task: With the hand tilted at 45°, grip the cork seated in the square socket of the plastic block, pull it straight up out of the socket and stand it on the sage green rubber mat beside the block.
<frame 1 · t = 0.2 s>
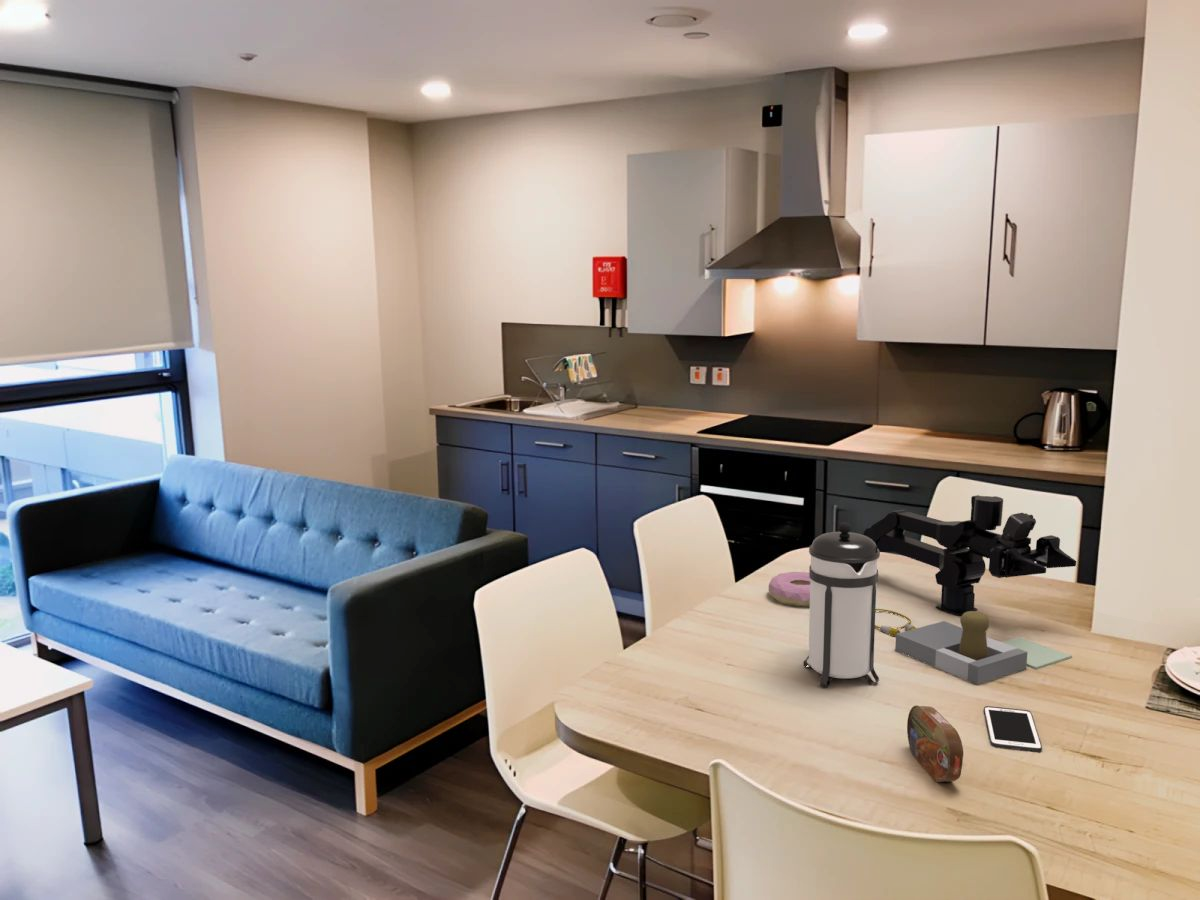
hand: (1060, 567, 196), 17 cm above the table, tool horizontal, fingers open, 9 cm apart
coffee press: (835, 673, 187), on the table
mat: (1027, 653, 195), on the table
tin: (933, 768, 151), on the table
donut: (800, 599, 230), on the table
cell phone: (1011, 732, 163), on the table
socket block: (972, 667, 188), on the table
gold chain necklace: (886, 626, 213), on the table
cork: (972, 668, 188), resting in socket block
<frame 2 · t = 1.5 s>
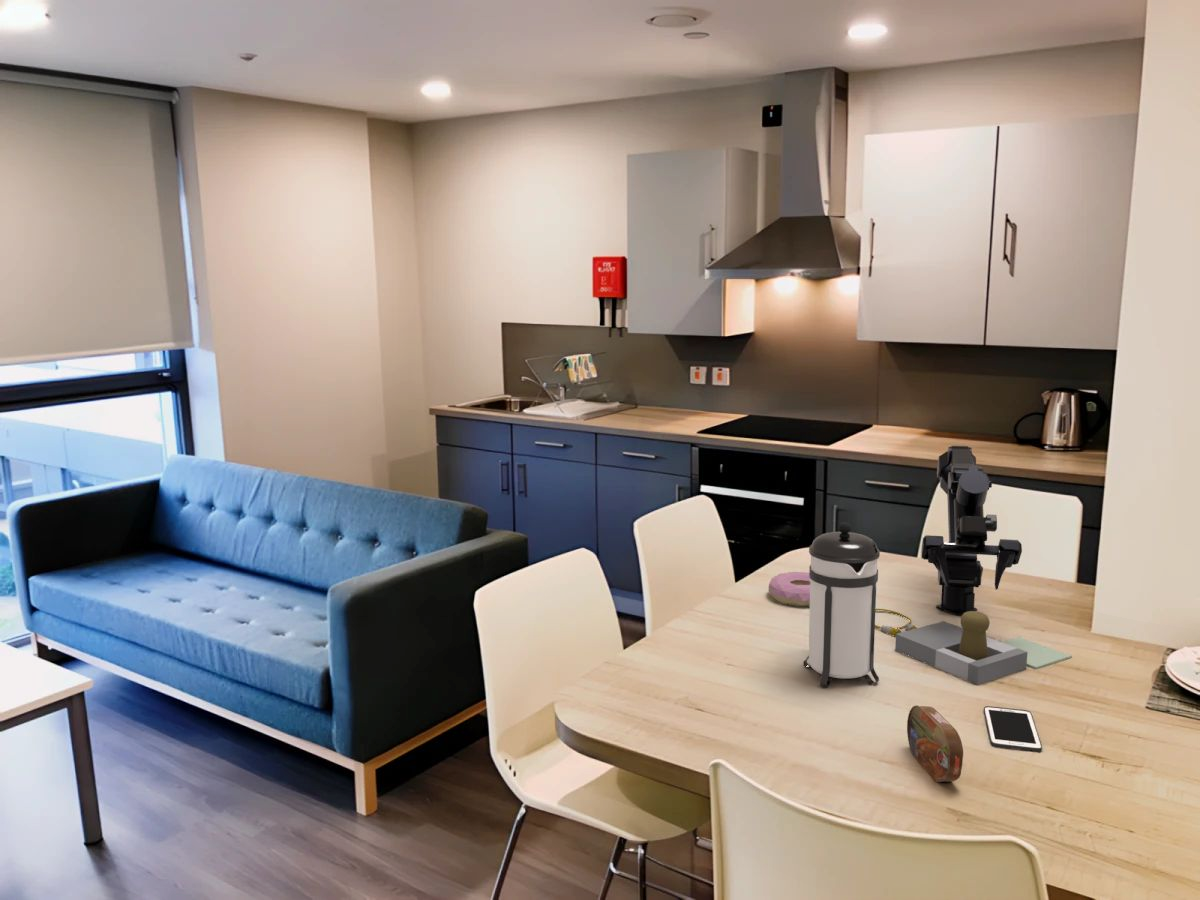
hand: (972, 587, 194), 14 cm above the table, tool tilted 45°, fingers open, 9 cm apart
nothing on the table moved.
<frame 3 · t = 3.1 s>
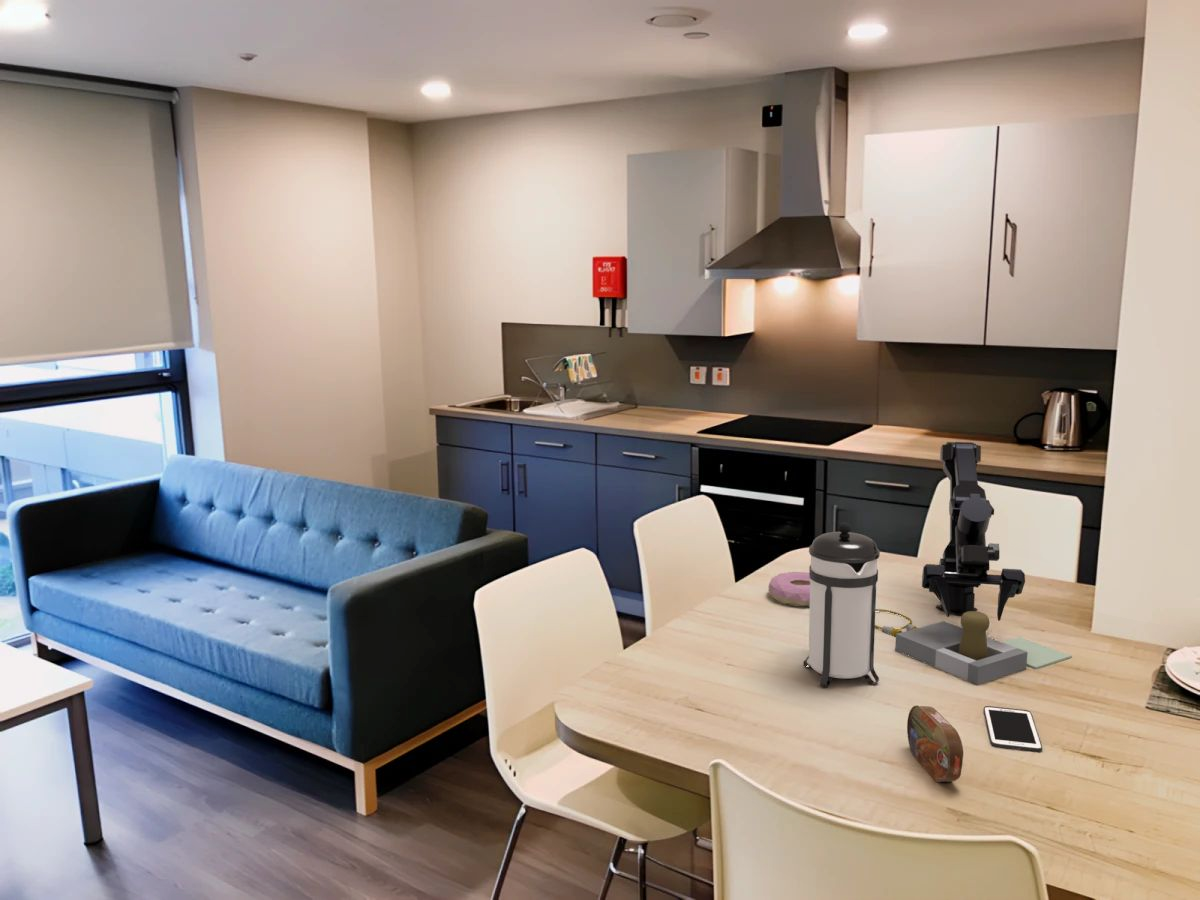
hand: (973, 617, 188), 9 cm above the table, tool tilted 45°, fingers open, 9 cm apart
nothing on the table moved.
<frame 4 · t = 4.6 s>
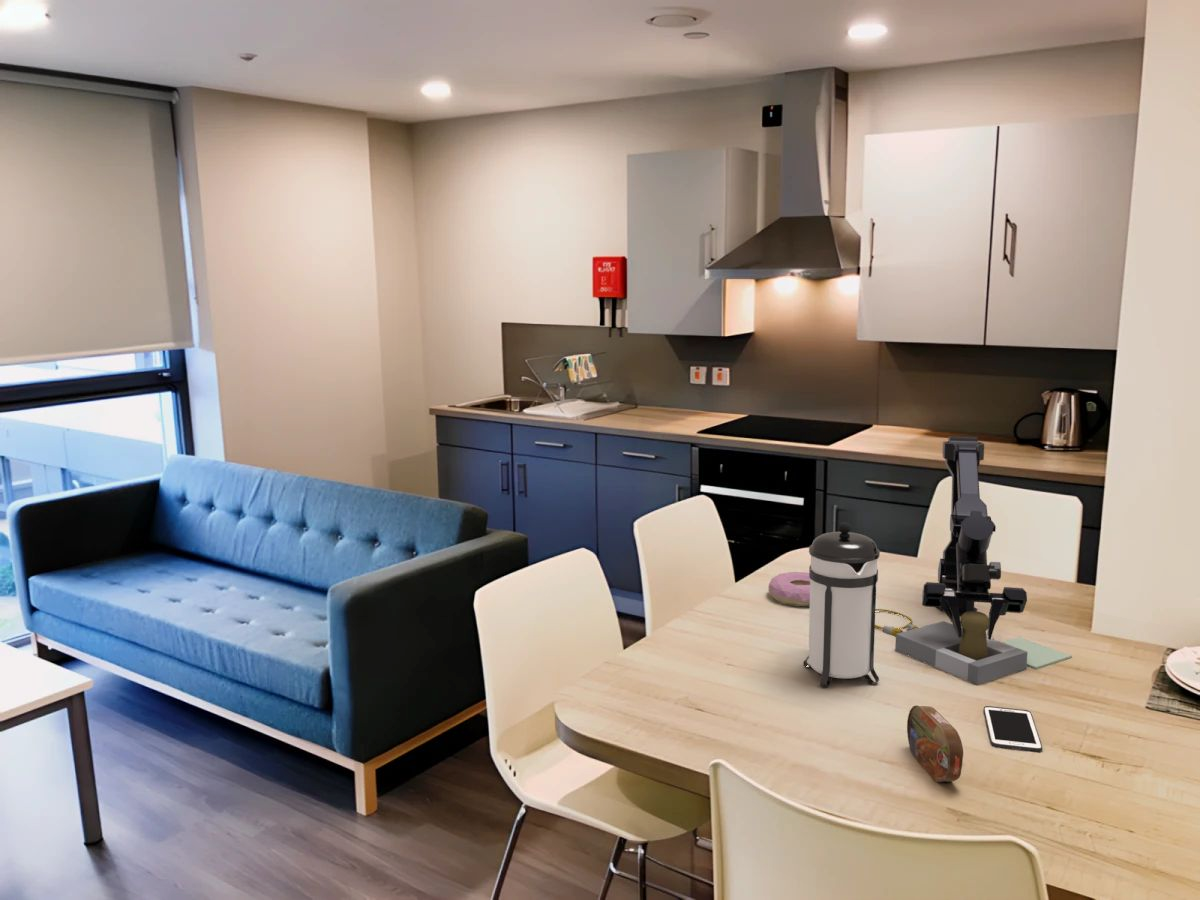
hand: (974, 637, 186), 7 cm above the table, tool tilted 45°, fingers closed on cork, 5 cm apart
cork: (972, 668, 188), resting in socket block, touching gripper
everything else where it was.
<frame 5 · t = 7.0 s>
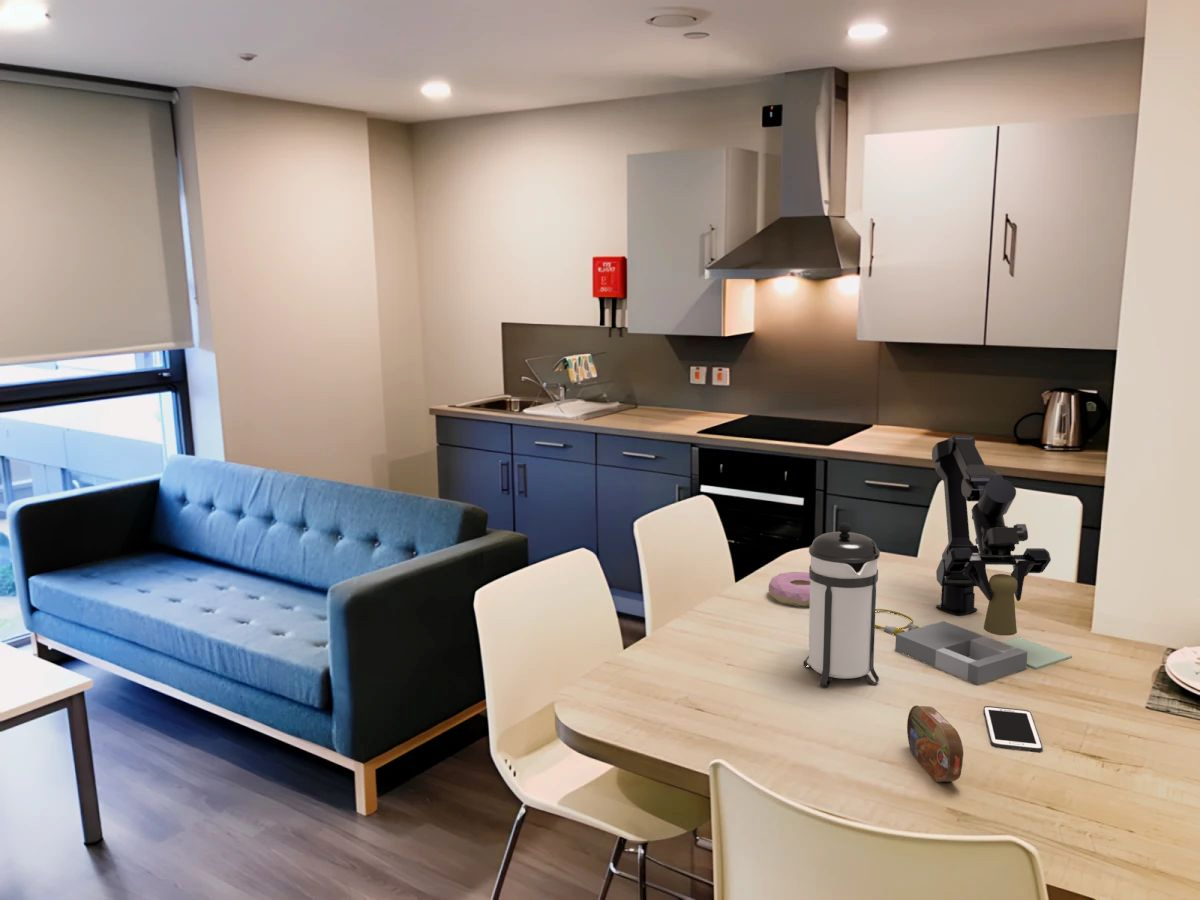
hand: (1004, 600, 187), 13 cm above the table, tool tilted 45°, fingers closed on cork, 5 cm apart
cork: (999, 630, 189), point 6 cm above the table, touching gripper
everything else where it was.
when the fingers open (8 cm above the table, at t = 9.5 s): cork stays where it is, resting on mat.
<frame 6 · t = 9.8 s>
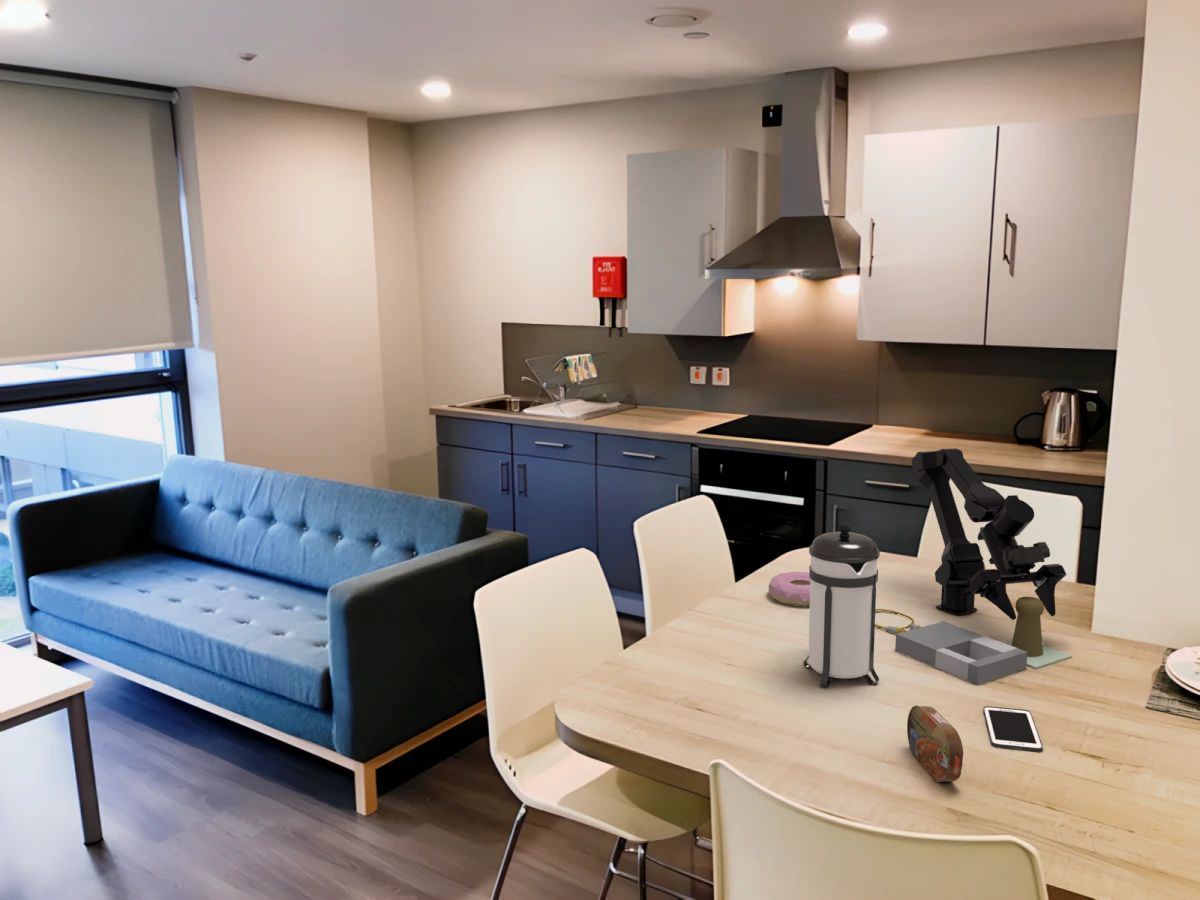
hand: (1034, 617, 192), 8 cm above the table, tool tilted 45°, fingers open, 8 cm apart
cork: (1026, 652, 195), resting on mat
everything else where it was.
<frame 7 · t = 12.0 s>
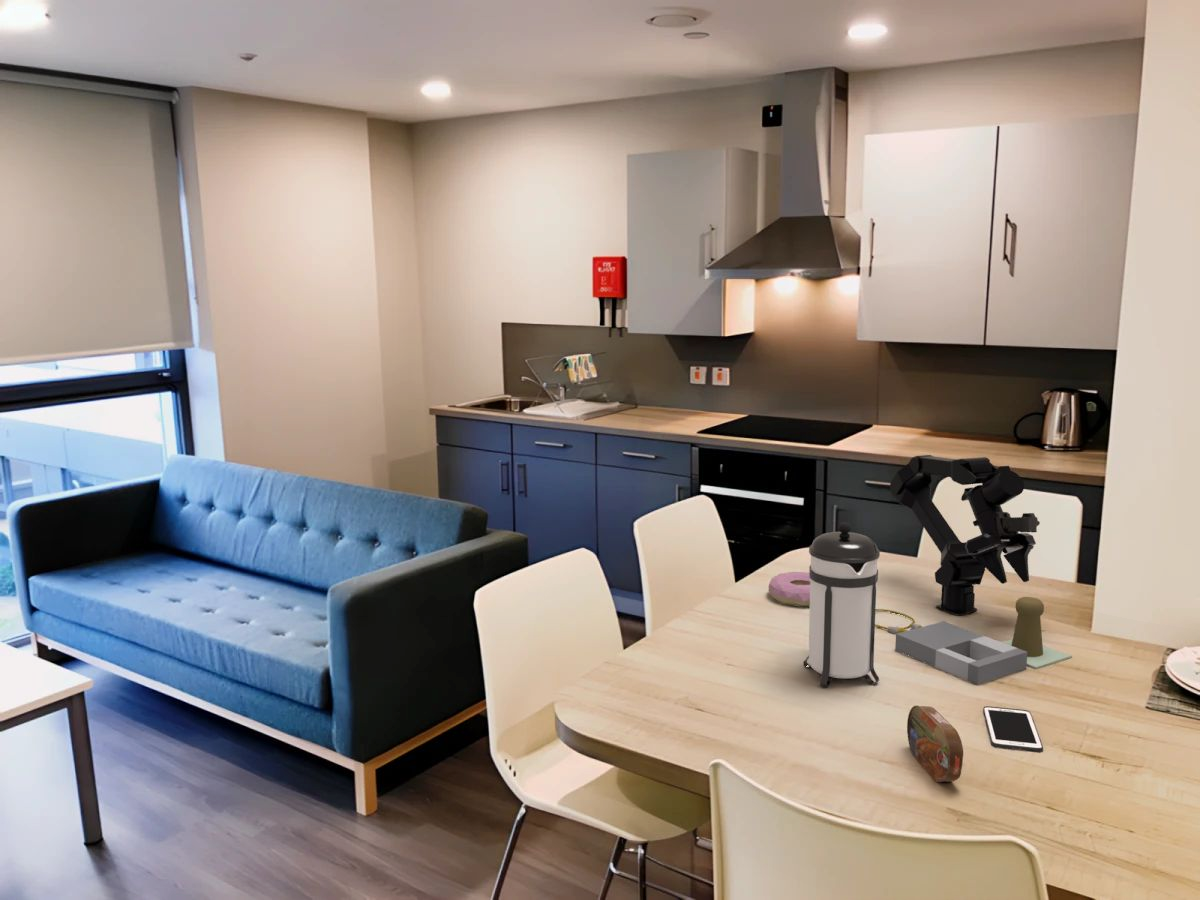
hand: (1015, 582, 203), 12 cm above the table, tool tilted 35°, fingers open, 9 cm apart
nothing on the table moved.
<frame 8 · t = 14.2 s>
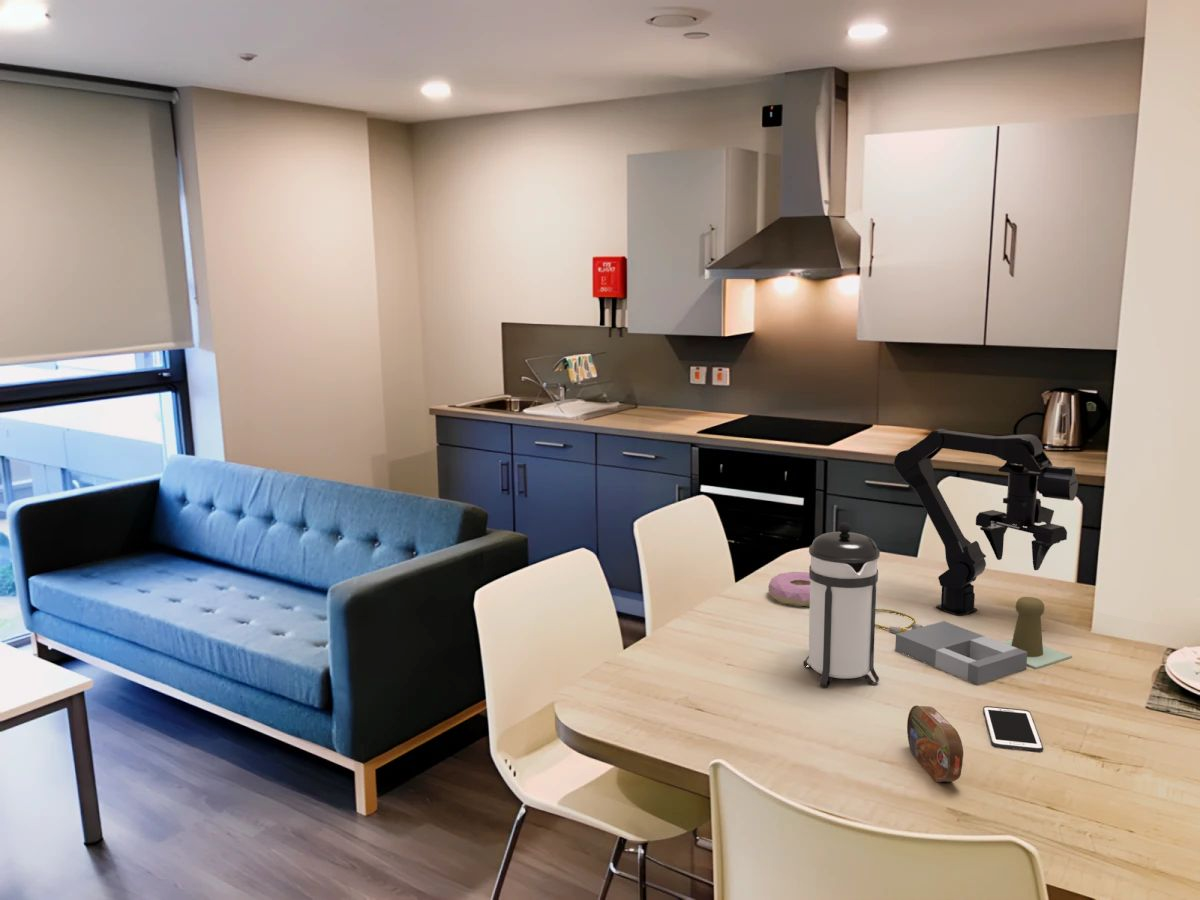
hand: (1017, 564, 210), 13 cm above the table, tool pointing down, fingers open, 9 cm apart
at the end: cork inside the target area on the mat (0.1 cm from its centre), point 0.2 cm above the mat's base; cork tilted 0°; the gripper is holding nothing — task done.
